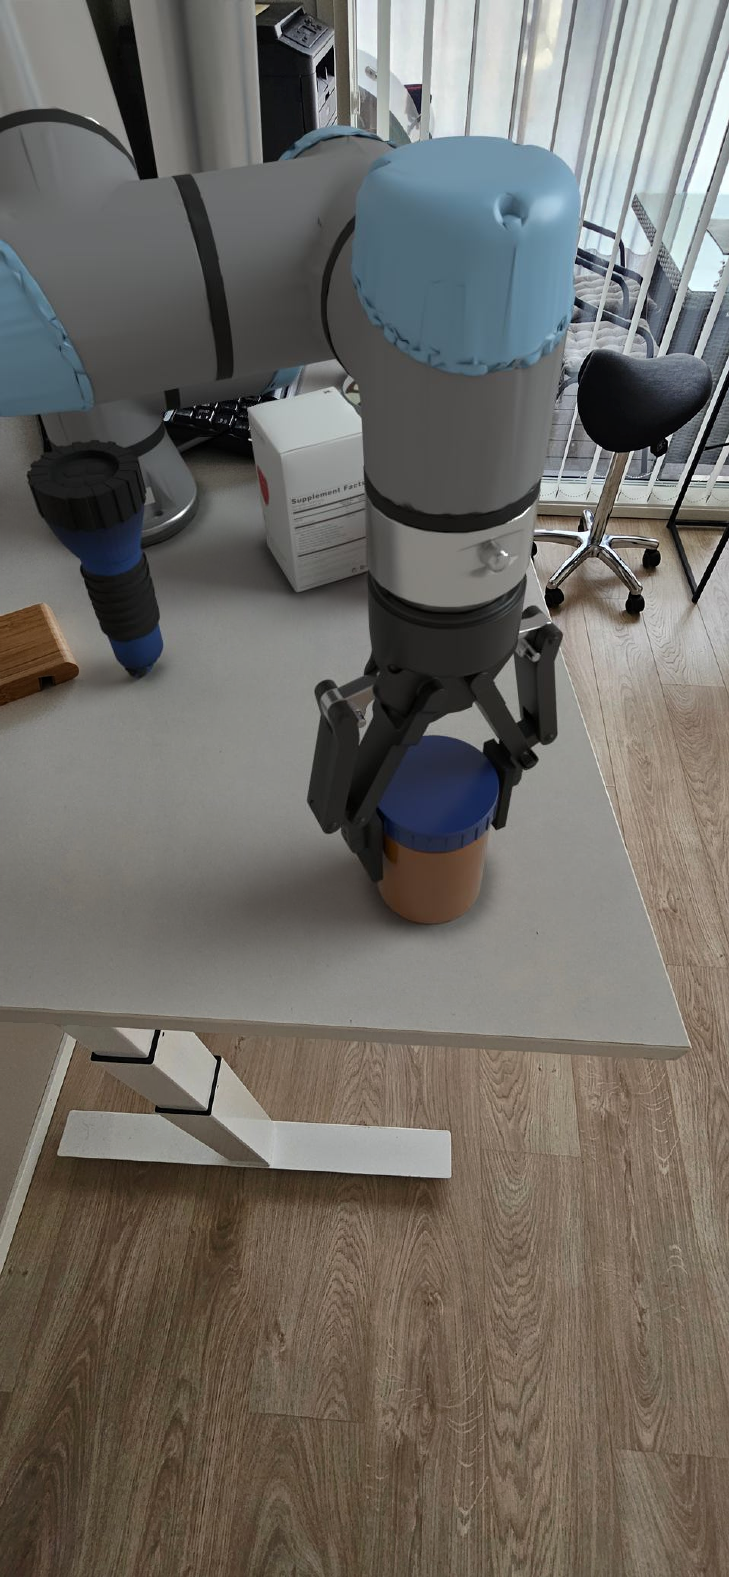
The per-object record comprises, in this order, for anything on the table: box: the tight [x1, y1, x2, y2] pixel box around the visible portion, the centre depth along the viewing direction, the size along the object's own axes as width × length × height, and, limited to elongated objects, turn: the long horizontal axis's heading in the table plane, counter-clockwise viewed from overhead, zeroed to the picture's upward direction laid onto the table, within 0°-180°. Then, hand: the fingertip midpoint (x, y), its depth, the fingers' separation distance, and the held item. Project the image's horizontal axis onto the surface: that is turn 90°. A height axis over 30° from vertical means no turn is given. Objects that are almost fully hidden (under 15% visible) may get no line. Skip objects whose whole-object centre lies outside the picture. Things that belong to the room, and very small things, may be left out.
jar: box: [377, 825, 491, 925], centre depth 55 cm, size 8×8×11 cm
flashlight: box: [26, 440, 164, 679], centre depth 66 cm, size 8×8×20 cm
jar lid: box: [375, 734, 499, 853], centre depth 51 cm, size 8×8×2 cm
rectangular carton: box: [246, 386, 369, 593], centre depth 78 cm, size 9×9×15 cm
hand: (431, 839), depth 56 cm, fingers open, 9 cm apart
